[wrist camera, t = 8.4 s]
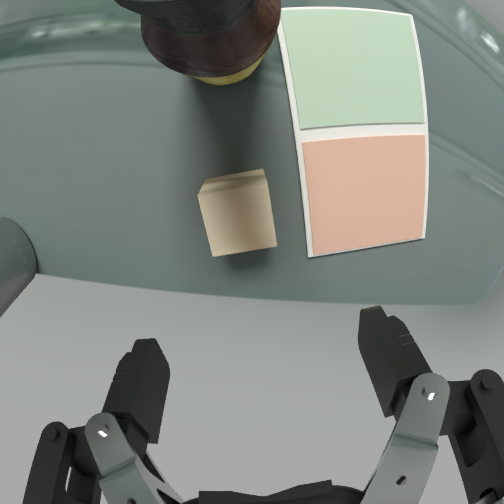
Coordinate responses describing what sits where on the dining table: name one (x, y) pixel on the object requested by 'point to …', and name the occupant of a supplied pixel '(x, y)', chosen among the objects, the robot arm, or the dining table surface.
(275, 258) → the dining table surface
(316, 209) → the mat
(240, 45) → the sauce bottle
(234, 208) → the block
